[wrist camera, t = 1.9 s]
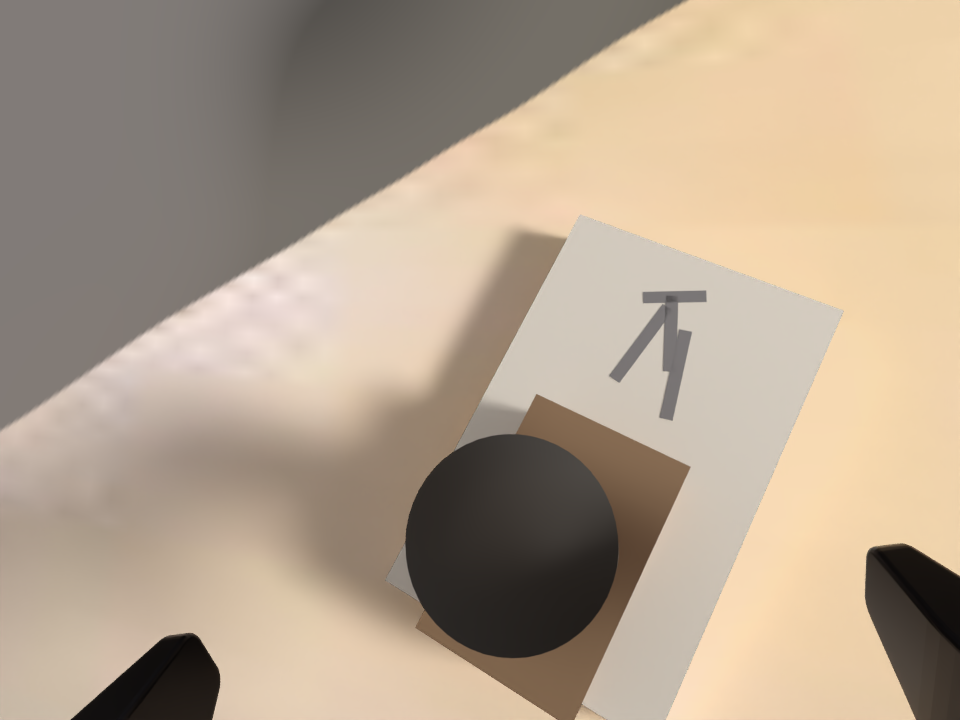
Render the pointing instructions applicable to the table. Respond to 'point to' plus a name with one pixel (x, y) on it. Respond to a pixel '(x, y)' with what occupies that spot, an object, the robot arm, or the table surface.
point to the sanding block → (538, 549)
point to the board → (663, 420)
